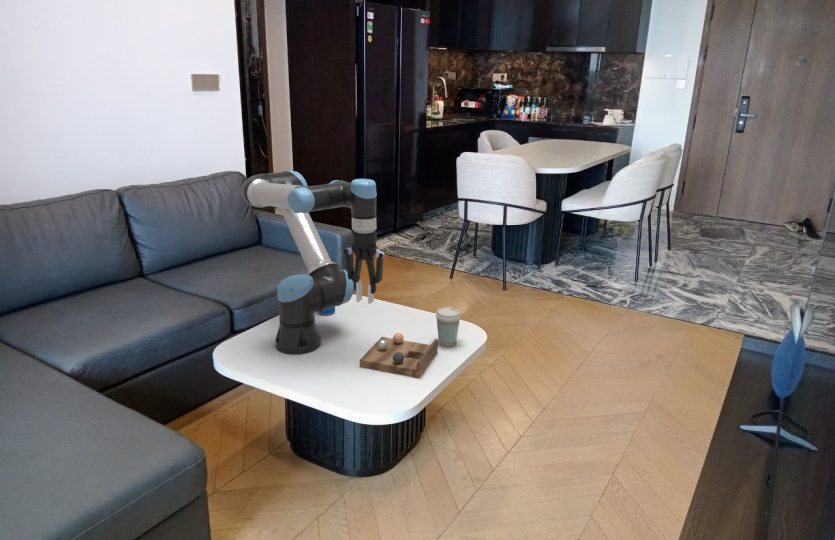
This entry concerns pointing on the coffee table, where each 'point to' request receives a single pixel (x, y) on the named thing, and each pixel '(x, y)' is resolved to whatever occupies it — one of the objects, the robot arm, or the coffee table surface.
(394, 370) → the wooden board
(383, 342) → the steel ball
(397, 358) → the black ball
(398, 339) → the clay ball
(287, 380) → the coffee table surface
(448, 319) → the coffee cup
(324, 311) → the beverage can
